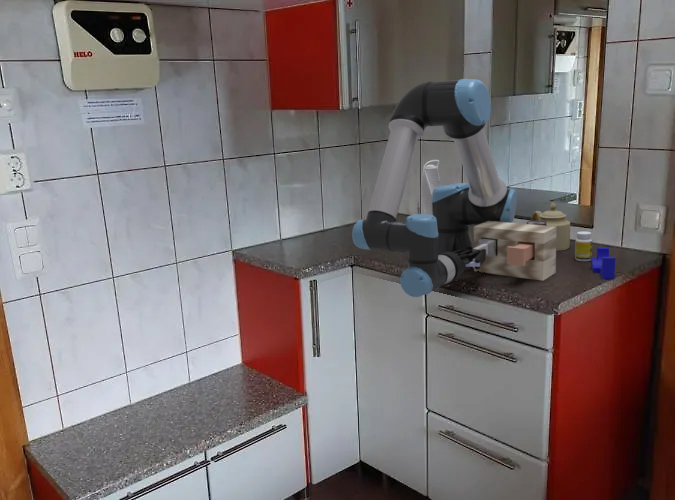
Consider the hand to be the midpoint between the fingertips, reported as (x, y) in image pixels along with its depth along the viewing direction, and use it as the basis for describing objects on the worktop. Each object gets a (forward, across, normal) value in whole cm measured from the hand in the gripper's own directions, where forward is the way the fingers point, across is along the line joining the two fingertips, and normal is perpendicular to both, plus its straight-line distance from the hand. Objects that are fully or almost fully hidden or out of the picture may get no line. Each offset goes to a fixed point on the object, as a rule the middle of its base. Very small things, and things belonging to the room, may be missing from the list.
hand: (485, 248), depth 180 cm
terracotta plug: (+1, +11, -2) cm, 11 cm away
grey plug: (+7, 0, -2) cm, 7 cm away
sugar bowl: (+39, +2, -8) cm, 40 cm away
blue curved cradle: (+17, +27, -8) cm, 33 cm away
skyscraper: (+39, -42, -8) cm, 58 cm away
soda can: (+21, +6, -8) cm, 23 cm away
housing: (+7, +6, -8) cm, 12 cm away
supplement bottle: (+28, +18, -8) cm, 34 cm away
